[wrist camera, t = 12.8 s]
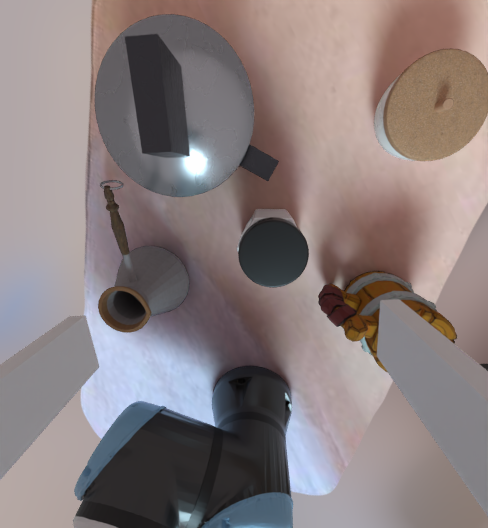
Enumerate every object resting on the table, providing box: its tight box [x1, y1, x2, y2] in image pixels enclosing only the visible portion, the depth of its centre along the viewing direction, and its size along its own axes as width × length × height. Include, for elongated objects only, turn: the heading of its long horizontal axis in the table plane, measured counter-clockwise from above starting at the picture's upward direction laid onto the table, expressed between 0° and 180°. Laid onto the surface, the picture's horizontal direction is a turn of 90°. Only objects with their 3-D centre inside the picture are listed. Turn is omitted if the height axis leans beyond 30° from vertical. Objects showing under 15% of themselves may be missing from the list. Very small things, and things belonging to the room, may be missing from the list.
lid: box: [95, 14, 254, 197], centre depth 25 cm, size 16×16×8 cm
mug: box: [318, 271, 457, 372], centre depth 37 cm, size 11×16×15 cm, turn 73°
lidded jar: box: [374, 49, 488, 161], centre depth 32 cm, size 11×11×9 cm
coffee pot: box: [98, 180, 189, 332], centre depth 37 cm, size 21×12×15 cm, turn 174°
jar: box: [237, 209, 309, 287], centre depth 36 cm, size 9×8×12 cm
